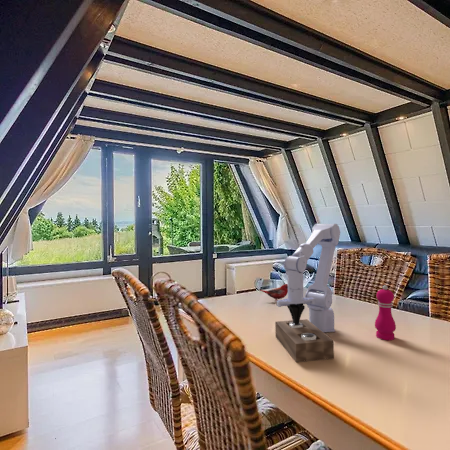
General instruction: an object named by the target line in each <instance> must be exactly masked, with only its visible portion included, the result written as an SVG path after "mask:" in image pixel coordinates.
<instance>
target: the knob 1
mask: <svg viewBox="0 0 450 450" xmlns="http://www.w3.org/2000/svg"><path fill="white" fill-rule="evenodd" d="M289 327H291V328H299V327H303V324H302V323H300V322H299V324H297V325H295V324H294V323H293V322H290V323H289Z"/></svg>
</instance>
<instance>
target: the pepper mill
mask: <svg viewBox="0 0 450 450" xmlns="http://www.w3.org/2000/svg"><path fill="white" fill-rule="evenodd" d="M375 296H376V299H377V300H378V301H377V305H378V314H377V316H376V319H375V322H374V328H375V329H376V332H375V334H376V335H375V336H376V338H377V339H379V340H384V341H393V340H394V339H395V333H394V332H395V331H396V328H397V325H396V321H395V319H394V317H393V314H392V308H393V301H394V299H395V294H394V293H393V291H391V290H389V289H388V286H387V285H385V284H384V285H382V288H381V289H379V290H378V291H377V292H376V295H375Z"/></svg>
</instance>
